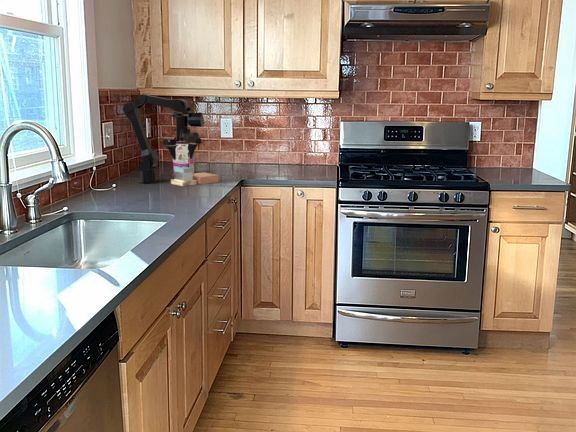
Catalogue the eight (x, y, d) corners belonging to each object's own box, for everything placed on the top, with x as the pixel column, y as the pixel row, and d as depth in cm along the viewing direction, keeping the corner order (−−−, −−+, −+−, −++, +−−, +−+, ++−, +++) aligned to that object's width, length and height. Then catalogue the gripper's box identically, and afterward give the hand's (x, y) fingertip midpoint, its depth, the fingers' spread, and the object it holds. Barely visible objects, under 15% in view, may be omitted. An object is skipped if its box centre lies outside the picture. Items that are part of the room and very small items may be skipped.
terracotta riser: (200, 184, 275) (200, 177, 274) (186, 181, 283) (186, 174, 283) (218, 181, 282) (218, 175, 282) (204, 179, 291) (204, 172, 290)
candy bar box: (195, 175, 304) (194, 144, 300) (189, 176, 300) (188, 145, 296) (178, 173, 309) (177, 143, 305) (172, 174, 305) (171, 144, 301)
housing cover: (183, 173, 270) (183, 167, 269) (174, 171, 275) (174, 165, 275) (192, 172, 273) (192, 166, 272) (183, 170, 279) (182, 164, 278)
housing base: (183, 181, 270) (183, 173, 270) (174, 179, 276) (174, 171, 275) (192, 180, 274) (192, 172, 273) (183, 178, 279) (183, 170, 279)
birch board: (182, 186, 269) (182, 182, 269) (171, 183, 276) (170, 179, 276) (196, 184, 275) (196, 180, 274) (184, 181, 282) (184, 177, 281)
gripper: (174, 128, 257) (175, 162, 261) (208, 126, 270) (208, 159, 274) (161, 126, 265) (162, 160, 269) (194, 125, 278) (195, 157, 281)
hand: (182, 159), depth 273 cm, fingers open, 9 cm apart
